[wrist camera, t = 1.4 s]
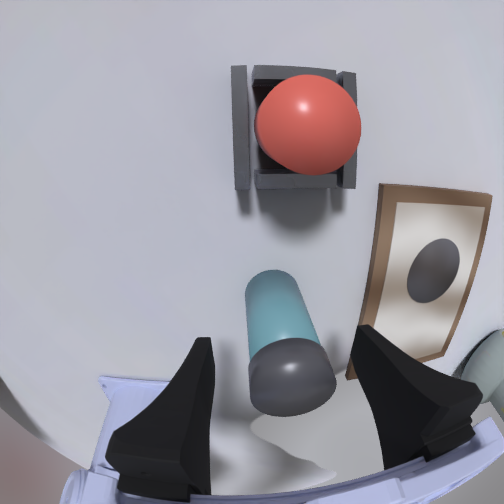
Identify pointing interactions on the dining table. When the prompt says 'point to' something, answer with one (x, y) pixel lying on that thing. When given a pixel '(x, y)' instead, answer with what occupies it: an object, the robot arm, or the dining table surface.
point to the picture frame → (422, 265)
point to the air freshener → (488, 370)
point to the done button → (308, 125)
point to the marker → (284, 349)
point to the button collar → (263, 177)
